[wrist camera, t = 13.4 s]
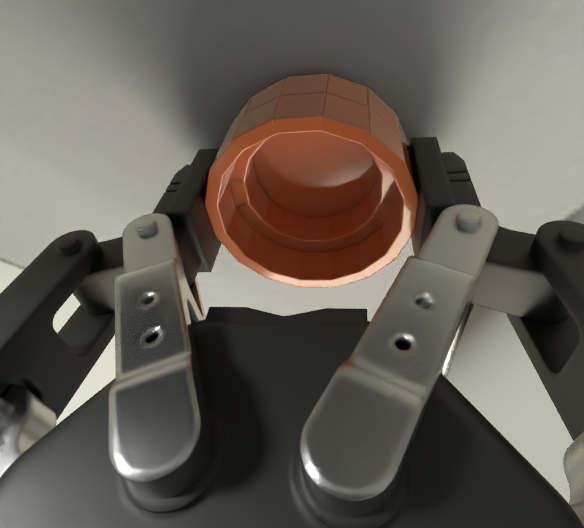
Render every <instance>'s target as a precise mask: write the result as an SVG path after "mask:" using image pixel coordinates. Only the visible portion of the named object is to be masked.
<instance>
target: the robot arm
mask: <svg viewBox="0 0 584 528" xmlns="http://www.w3.org/2000/svg"><path fill="white" fill-rule="evenodd" d="M219 149H220V148H218V149H201V150H199V151H198V153H197V155H196V156H195V158H194V160H193V162H192V164H191V165H186V166H184V167H183V168H182V169H181V170H180V171H178V172H177V173H176V174H175V176H174V177H173V179H172V181H171V182H170V185H169V186H168V187H167V189H166V193H164V194H163V196H162V198H161V199H160V201H159V203H158V205H157V206H156V208H155V210H154V211H153V213H152V214H148V215H144V216H141V217H139V218H137V219H135V220H133V221H132V222H131V223H129V224H128V225H127V226H126V228H125V229H124V231H123V235H122V236H123V237H120V238H116V239H112V240H108V241H104V242H100V243H99V242H98V241H97V239H96V238H95V236H94V234H93V233H92V232H90V231H86V230H78V231H73V232H69V233H67V234H64V235H62V236H60V237H59V238H57V239H55V240H54V241H53V242H52V243H51V244H50V245H49V246H48V247H47V248H46V249H45V250H44V251H43V252H42V253H41V254H40V255H39V256H38V257H37V258H36V259H35V260H34V261H33V262H32V263H31V264H30V265H29V266H28V267H27V268H26V269H25V270H24V271H23V272H22V273H21V274H20V275H19V276H18V277H17V278H16V279H15V280H14V281H13V282H12V283H11V284H10V285H9V286H8V287H7V288H6V289H5V290H4V291H3V292H2V293H1V294H0V528H584V224H581V223H577V222H571V221H552V222H548V223H545V224H543V225H542V226H541V227H540V228H539V229H538V231H537V233H536V235H534V234H529V233H523V232H518V231H513V230H509V229H506V228H503V227H500V226H499V222H498V219H497V218H496V216H495V215H494V214H493V213H491V212H490V211H488V210H487V209H485V208H482V207H481V205H480V202H479V200H478V197H477V194H476V192H475V189H474V186H473V184H472V181H471V178H470V175H469V173H468V170H467V167H466V165H465V162H464V160H463V159H461V158H460V157H459V156H458V155H456V154H455V153H454V152H446V153H441V151H440V148H439V144H438V141H437V138H436V137H420V138H411V139H410V144H409V149H410V154H411V159H412V165H413V169H414V174H415V179H416V185H417V190H418V197H419V199H418V207H417V215H416V223H415V230H414V233H413V234H412V236H411V238H412V244H413V251H414V256H409V257H408V258H407V260H406V261H405V263H404V265H403V267H402V268H401V270H400V272H399V274H398V275H397V277H396V279H395V280H394V282H393V284H392V286H391V287H390V289H389V291H388V293H387V294H386V296H385V298H384V299H383V301H382V303H381V305H380V306H379V308H378V310H377V312H376V313H375V315H374V317H373V318H372V320H371V322H369V321H367V309H330V308H326V309H321V310H316V311H311V312H306V313H300V314H295V315H290V316H280V315H276V314H271V313H267V312H263V311H259V310H255V309H251V308H247V307H209V310H208V313H207V316H205V312H204V308H203V304H202V300H201V295H200V291H199V287H198V284H197V281H196V279H195V278H196V275H197V273H198V272H211V271H212V268H213V265H214V262H215V259H216V256H217V254H218V251H219V248H220V245H221V241H220V240H219V239H218V238H217V237H216V235H215V233H214V230H213V227H212V224H211V221H210V218H209V215H208V212H207V209H206V206H205V197H206V190H207V183H208V176H209V170H210V168H211V166H212V164H213V162H214V159H215V157H216V155H217V153H218V151H219ZM72 293H73V294H74V296H75V297H76V298H77V300H78V301H79V302H80V304H81V305H80V306H79V307H78V308H77V310H76V311H75V312H74V314H73V315H72V316H71V317H70V319H69V320H68V321H67V322H66V324H65V325H64V326H63V327H62V329H61V330H60V331H59V332H58V334H57V333H56V332H55V330H54V329H53V318H54V315H55V313H56V312H57V311H58V310H59V308H60V307H61V306H62V305H63V303H64V302H65V301H66V300H67V299H68V298H69V296H70V295H71V294H72ZM474 305H477V306H481V307H485V308H489V309H493V310H497V311H500V312H504V313H507V316H508V318H509V320H510V322H511V324H512V326H513V328H514V330H515V332H516V333H517V335H518V337H519V339H520V341H521V343H522V345H523V347H524V349H525V350H526V352H527V354H528V356H529V358H530V360H531V362H532V364H533V365H534V367H535V369H536V371H537V373H538V375H539V377H540V379H541V381H542V382H543V384H544V386H545V388H546V390H547V392H548V394H549V396H550V398H551V399H552V401H553V403H554V405H555V407H556V408H557V411H558V413H559V414H560V416H561V418H562V420H563V422H564V424H565V426H566V428H567V430H568V431H569V433H570V435H571V437H572V439H573V440H574V442H573V443H572V444H571V445H570V446H569V447H568V448H567V450H566V452H565V454H564V459H563V460H564V461H563V465H564V471H565V474H566V477H567V480H568V483H569V487H570V502H569V504H568V503H567V501H566V500H565V499H564V498H563V497H562V496H561V495H560V494H559V492H558V491H557V490H556V489H555V488H554V487H553V486H552V485H551V484H550V483H549V482H548V481H547V480H546V479H545V478H544V477H543V476H542V475H541V474H540V473H539V472H538V471H537V470H536V469H535V468H534V467H533V466H532V465H531V464H530V463H529V462H528V461H527V460H526V459H525V458H524V457H523V456H522V455H521V454H520V453H519V452H518V451H517V450H516V449H515V448H514V447H513V446H512V445H511V444H510V443H509V442H508V441H507V440H506V439H505V438H504V437H503V436H502V435H501V433H500V432H499V431H498V430H497V429H496V428H495V427H493V425H492V424H491V423H490V422H489V421H488V420H486V418H485V417H484V416H483V415H482V414H481V413H480V412H479V411H478V410H477V409H476V408H475V407H474V406H473V405H472V404H471V403H470V402H469V401H468V400H467V399H466V398H465V397H464V396H463V395H462V394H461V393H460V392H459V391H458V390H457V389H456V388H455V387H454V386H453V385H452V384H451V383H450V382H449V381H448V380H447V379H446V378H447V375H448V373H449V370H450V367H451V364H452V361H453V358H454V356H455V353H456V350H457V347H458V345H459V342H460V340H461V337H462V334H463V332H464V329H465V327H466V324H467V322H468V319H469V316H470V314H471V311H472V309H473V306H474ZM114 335H115V350H116V352H115V353H116V378H115V379H114V380H112V381H111V382H110V383H109V384H107V385H106V386H105V387H104V388H103V389H102V390H100V391H99V392H98V393H96V394H95V395H94V396H93V397H91V398H90V399H89V400H88V401H86V402H85V403H84V404H83V405H81V406H80V407H79V408H78V409H76V410H75V411H74V412H73V413H71V414H70V415H69V416H68V417H66V418H65V419H64V420H63V421H62V422H60V423H59V424H58V425H57V426H56V421H57V419H58V418H59V416H60V415H61V413H62V412H63V410H64V408H65V407H66V406H67V404H68V403H69V401H70V400H71V398H72V397H73V395H74V394H75V392H76V391H77V389H78V388H79V387H80V385H81V384H82V382H83V381H84V379H85V378H86V376H87V375H88V373H89V372H90V370H91V369H92V367H93V366H94V364H95V363H96V361H97V360H98V358H99V357H100V355H101V354H102V353H103V351H104V349H105V348H106V346H107V345H108V344H109V342H110V341H111V339H112V338H113V336H114Z"/></svg>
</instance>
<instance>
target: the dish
mask: <svg viewBox="0 0 584 528" xmlns="http://www.w3.org/2000/svg"><path fill="white" fill-rule="evenodd" d="M418 199H419V197H418V190H417V185H416V179H415V174H414V169H413V165H412V159H411V154H410V149H409V144H408V142H407V139H406V137H405V134H404V131H403V129H402V126H401V124H400V121H399V118H398V116H397V115H396V113H395V112H394V111H393V110H392V109H391V108H390V107H389V106H388V105H387V104H386V103H385V102H384V101H383V100H382V99H381V98H380V97H378V96H377V95H376V94H375V93H374V92H373V91H372V90H371V89H370V88H367V87H366V86H364V85H361V84H358V83H355V82H352V81H349V80H346V79H343V78H340V77H337V76H334V75H331V74H329V75H328V74H326V73H325V74H313V75H302V76H290V77H287V79H282V80H280V81H278V82H277V83H275V84H273V85H271V86H269V87H268V88H266V89H264V90H262V91H260V92H259V93H257V94H255V95H254V96H253V97H251V98H250V99H249V100H248V102H247V103H246V105H245V106H244V107H243V109H242V110H241V112H240V113H239V114H238V116H237V117H236V119H235V120H234V121H233V123H232V125H231V127H230V129H229V131H228V133H227V135H226V137H225V139H224V141H223V144H222V145H221V147H220V149H219V151H218V153H217V155H216V157H215V159H214V162H213V164H212V166H211V168H210V170H209V176H208V183H207V190H206V197H205V206H206V209H207V212H208V215H209V218H210V221H211V224H212V227H213V230H214V233H215V235H216V237H217V238H218V239H219V240H220V241H221V243H222V244H223V245H224V246H225V247H226V248H227V250H228V251H229V252H230V253H231V254H232V255H233V256H234V258H235V259H236V260H238V261H239V262H240V263H242V264H244V265H245V266H247V267H249V268H250V269H252V270H254V271H255V272H257V273H259V274H260V275H262V276H264V277H267V278H268V279H272V280H276V281H279V282H283V283H287V284H290V285H294V286H298V287H299V286H300V287H336V286H340V285H344V284H347V283H351V282H354V281H358V280H362V279H365V278H367V277H370V276H371V275H373V274H374V273H376V272H377V271H379V270H380V269H382V268H383V267H385V266H386V265H388V264H389V263H391V262H392V261H394V260H395V259H396V258H397V256H398V255H399V253H400V252H401V250H402V249H403V248H404V246H405V245H406V243H407V242H408V240H409V239H410V237H411V236H412V234H413V233H414V230H415V223H416V215H417V207H418Z"/></svg>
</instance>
